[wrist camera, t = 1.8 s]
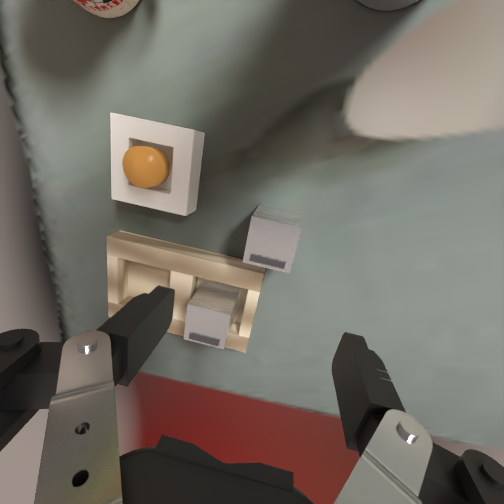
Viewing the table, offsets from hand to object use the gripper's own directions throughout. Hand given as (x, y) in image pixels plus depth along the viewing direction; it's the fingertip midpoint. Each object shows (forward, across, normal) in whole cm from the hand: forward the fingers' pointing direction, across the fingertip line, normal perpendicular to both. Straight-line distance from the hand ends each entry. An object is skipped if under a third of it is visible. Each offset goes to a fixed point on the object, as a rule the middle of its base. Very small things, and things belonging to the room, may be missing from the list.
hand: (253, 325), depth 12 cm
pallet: (+17, +9, +10) cm, 22 cm away
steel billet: (+17, 0, 0) cm, 17 cm away
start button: (+15, +13, -4) cm, 20 cm away
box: (+17, +13, -4) cm, 22 cm away
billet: (+17, +4, +10) cm, 20 cm away
